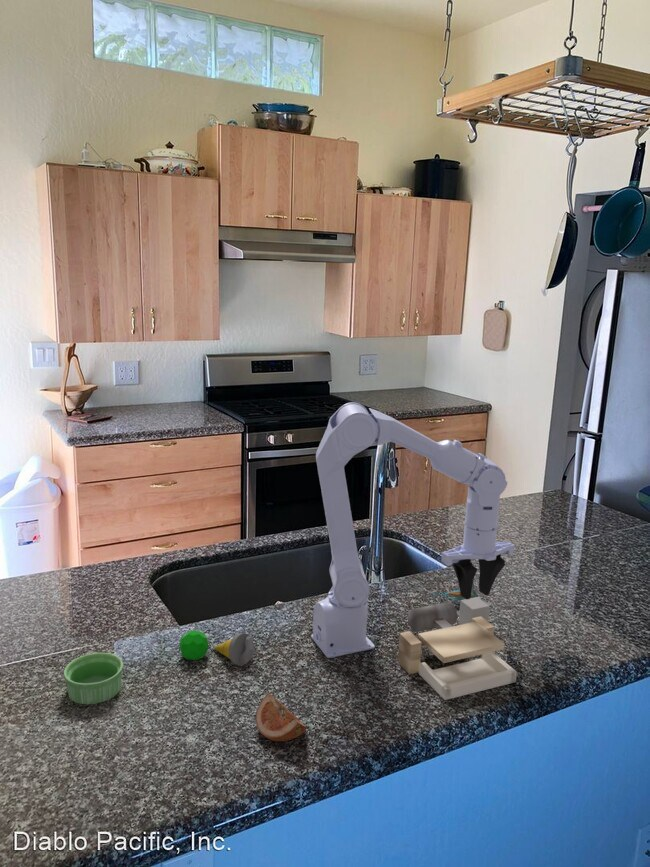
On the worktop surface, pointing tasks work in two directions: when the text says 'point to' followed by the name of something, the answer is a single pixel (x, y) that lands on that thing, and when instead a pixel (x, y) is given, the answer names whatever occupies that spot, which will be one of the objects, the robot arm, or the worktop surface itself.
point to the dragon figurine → (457, 595)
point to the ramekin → (93, 677)
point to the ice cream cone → (238, 649)
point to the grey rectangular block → (473, 610)
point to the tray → (468, 676)
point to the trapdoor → (451, 633)
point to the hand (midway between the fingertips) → (474, 595)
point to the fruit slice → (277, 720)
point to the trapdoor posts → (412, 647)
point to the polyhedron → (194, 645)
